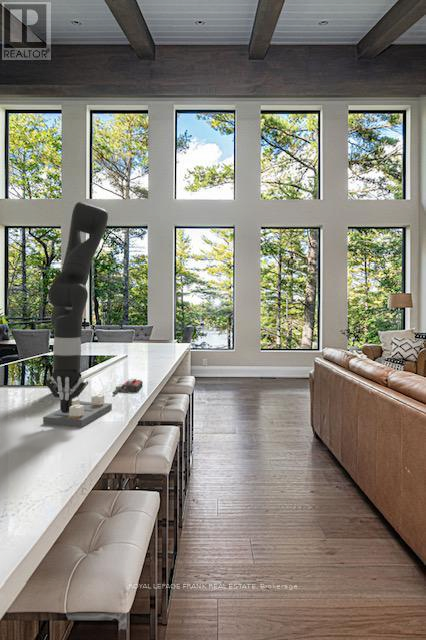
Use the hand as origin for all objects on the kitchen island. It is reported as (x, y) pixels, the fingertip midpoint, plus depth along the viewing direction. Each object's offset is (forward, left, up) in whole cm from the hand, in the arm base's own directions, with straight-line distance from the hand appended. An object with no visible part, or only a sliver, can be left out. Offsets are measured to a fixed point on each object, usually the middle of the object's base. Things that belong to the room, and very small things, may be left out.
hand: (66, 412), depth 122 cm
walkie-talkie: (+1, +46, -4) cm, 46 cm away
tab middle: (-2, +7, -1) cm, 8 cm away
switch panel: (+1, +7, -3) cm, 8 cm away
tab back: (+3, +14, -1) cm, 15 cm away
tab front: (+3, 0, -1) cm, 3 cm away
